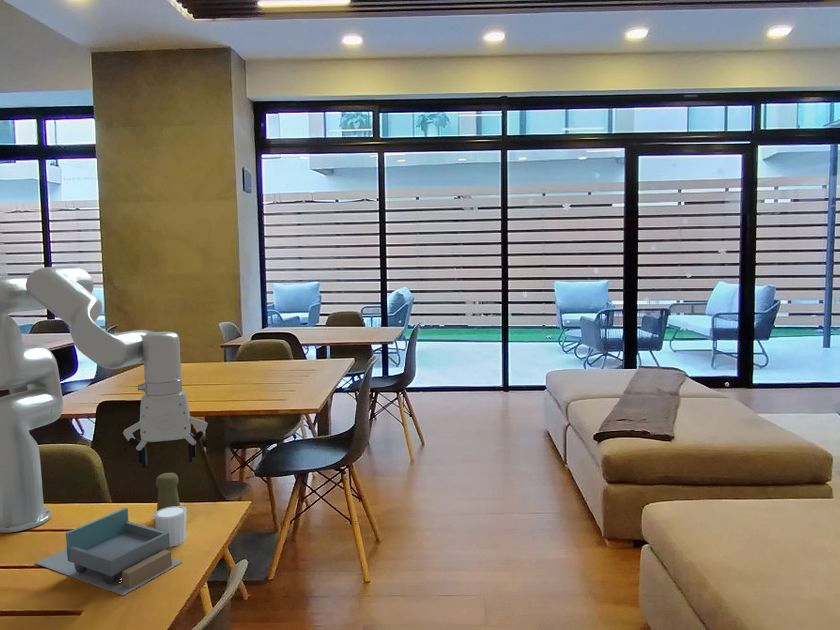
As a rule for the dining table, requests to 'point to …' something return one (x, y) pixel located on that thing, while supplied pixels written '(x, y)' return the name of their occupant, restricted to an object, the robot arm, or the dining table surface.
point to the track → (129, 576)
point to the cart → (113, 544)
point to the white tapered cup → (172, 523)
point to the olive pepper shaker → (167, 490)
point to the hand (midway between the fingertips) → (168, 463)
